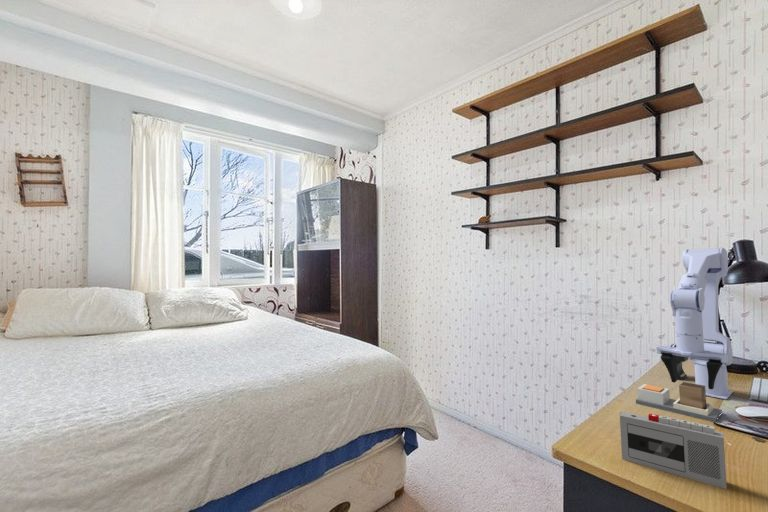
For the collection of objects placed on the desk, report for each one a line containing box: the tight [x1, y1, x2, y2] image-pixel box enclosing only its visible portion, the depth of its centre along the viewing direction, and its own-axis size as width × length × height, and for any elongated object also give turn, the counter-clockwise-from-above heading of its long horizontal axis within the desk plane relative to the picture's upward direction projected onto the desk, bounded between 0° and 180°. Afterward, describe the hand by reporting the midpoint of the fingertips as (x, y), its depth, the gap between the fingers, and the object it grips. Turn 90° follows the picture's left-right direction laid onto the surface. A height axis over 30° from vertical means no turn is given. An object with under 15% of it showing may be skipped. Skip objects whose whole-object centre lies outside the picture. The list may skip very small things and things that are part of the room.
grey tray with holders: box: [635, 383, 723, 423], centre depth 98 cm, size 8×17×4 cm, turn 38°
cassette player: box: [619, 410, 728, 490], centre depth 70 cm, size 16×3×10 cm, turn 47°
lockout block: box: [678, 381, 707, 410], centre depth 96 cm, size 4×4×6 cm
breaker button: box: [643, 384, 665, 393], centre depth 103 cm, size 4×4×3 cm
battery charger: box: [669, 343, 689, 380], centre depth 124 cm, size 7×4×11 cm, turn 128°
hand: (692, 384), depth 96 cm, fingers open, 7 cm apart
